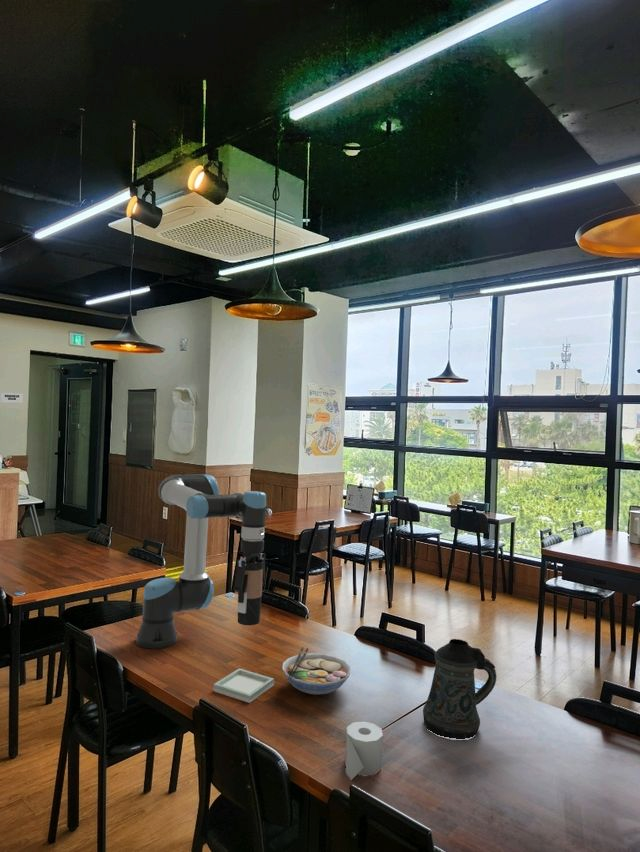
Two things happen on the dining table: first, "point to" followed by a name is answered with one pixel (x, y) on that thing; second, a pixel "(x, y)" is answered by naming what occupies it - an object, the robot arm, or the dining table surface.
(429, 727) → the beer stein
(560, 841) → the dining table surface
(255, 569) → the travel mug
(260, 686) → the square plate
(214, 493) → the robot arm
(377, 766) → the toilet tissue
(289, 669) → the ramen bowl
